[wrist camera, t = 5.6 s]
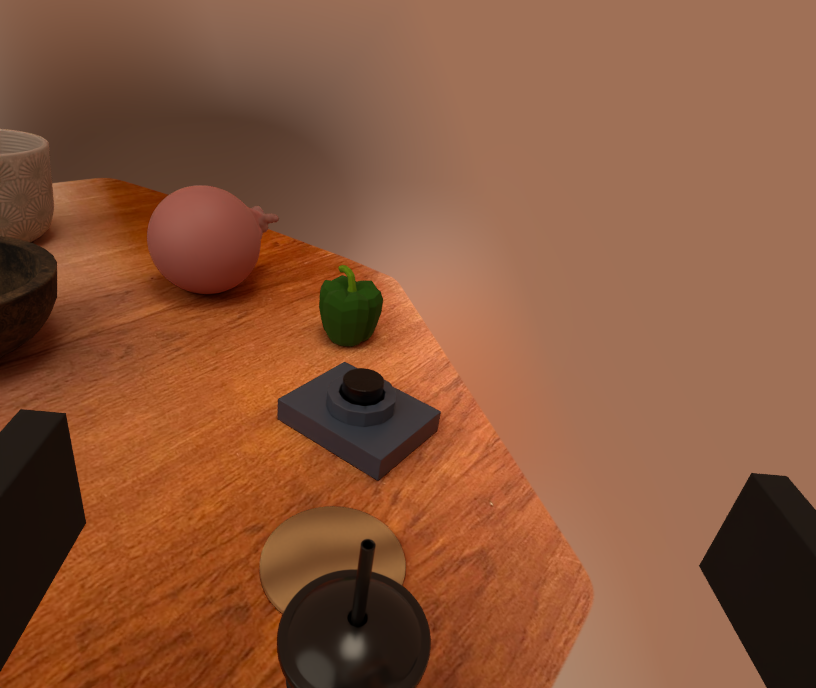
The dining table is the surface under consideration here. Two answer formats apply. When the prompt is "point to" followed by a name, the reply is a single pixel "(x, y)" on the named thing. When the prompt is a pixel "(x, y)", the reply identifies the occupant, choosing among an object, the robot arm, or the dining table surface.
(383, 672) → the drinking cup
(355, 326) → the bell pepper
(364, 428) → the plate
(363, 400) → the button
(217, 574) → the dining table surface
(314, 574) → the coaster
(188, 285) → the balloon
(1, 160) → the planter
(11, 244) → the bowl
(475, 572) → the dining table surface
